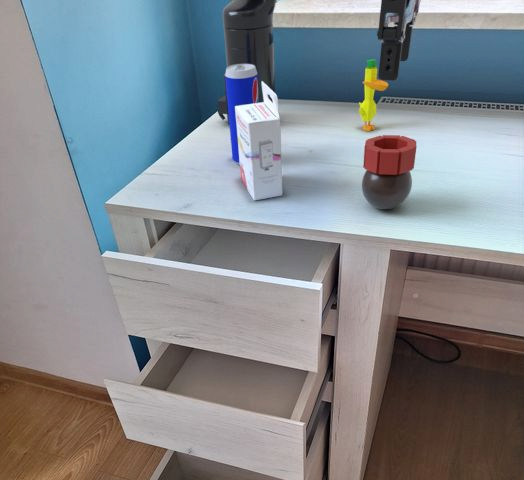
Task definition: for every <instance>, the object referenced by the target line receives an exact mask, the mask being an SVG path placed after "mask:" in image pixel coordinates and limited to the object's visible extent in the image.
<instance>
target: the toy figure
mask: <svg viewBox="0 0 524 480" xmlns="http://www.w3.org/2000/svg"><path fill="white" fill-rule="evenodd" d="M376 62H377V59H376V58H375V59H374V58H373V59H367V60H366V63H367V64H366V66H365V71H364V81H362V84H363V85H364V100H363V101H362V102H360V101H358V103H359V108H358V114H359V116H360V118H361V119H362V121H363V122H364V125H363V127H362V128H361V129H362V130H364V131H366V132H372V131H374V130H376V126H375V124H371V121H372V120H373V119H374V117H375V116H376V114H377V103H376V101H375V100H374V96H375V93H376V91H380V92H383V91H385V90H386V89H388V87H389V83H388V82H387V81H386V80H381V79H379V78H378V65H377V63H376Z"/></svg>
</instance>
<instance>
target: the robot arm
mask: <svg viewBox="0 0 524 480" xmlns="http://www.w3.org/2000/svg"><path fill="white" fill-rule="evenodd" d="M276 3H277V0H231V1H230V2H229V3H228V4H227V5H226V6H224V8H223V9H222V27H223V37H224V48H225V61H226V62H225V63H226V68H227V67H228V66H231V65H235V64H252V65H254V66H255V67H256V70H257V75H258V95H259V103H261V102H264V99H263V92H262V83H261V82H262V81H263V82H264V83H265V84H266V85H267V86H268V87H269V88H270V89H271V90H272V91H273V92H274V93H275V94H276V81H275V79H276V77H275V47H274V45H275V44H274V12H275V8H276ZM420 6H421V0H381V1H380V10H379V21H378V30H377V33H376V36H377V40H378V41H379V43H380V44H381V45H380V53H379V54H380V56H379V66H378V73H377V77H378V80H382V81H397V79H398V77H399V74H400V67H401V62H406V61H407V60H408V59H409V56H410V49H411V41H412V35H413V34H412V33H413V29H414V28H413V26H414V25H415V23H416V21H417V16H418V13H419V11H420ZM390 23H393V26H389V24H390ZM225 74H226V71H225V72H224V73H223V84H224V95H223V96H222V97H220V98H219V99H218V100H216V101H217V115H218V116H219V118H220V119H221V120H222V121H224V120H226V119H227V125H229V113H228V102H227V91H226V79H225ZM268 98H269V100H270V101H271V102H272V103H273V100H272V98H271V97H270V94H269V95H268ZM225 115H226V117H225Z"/></svg>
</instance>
